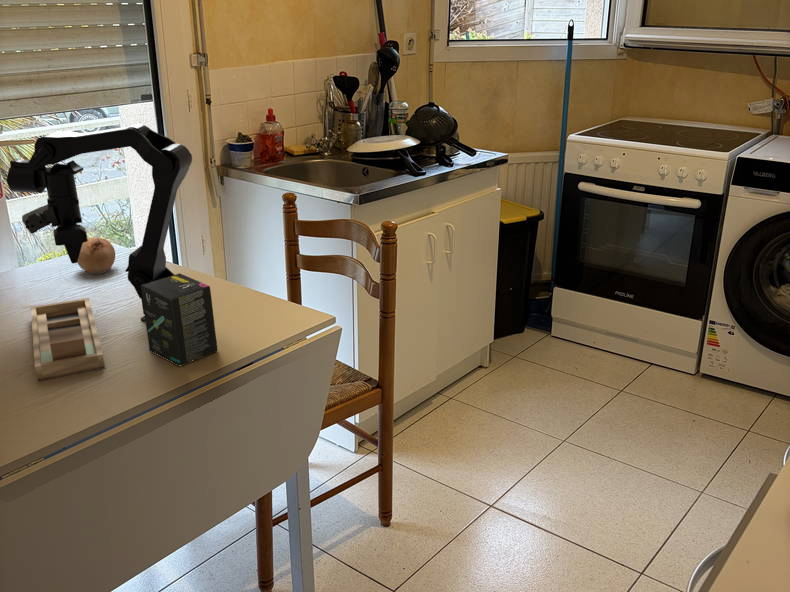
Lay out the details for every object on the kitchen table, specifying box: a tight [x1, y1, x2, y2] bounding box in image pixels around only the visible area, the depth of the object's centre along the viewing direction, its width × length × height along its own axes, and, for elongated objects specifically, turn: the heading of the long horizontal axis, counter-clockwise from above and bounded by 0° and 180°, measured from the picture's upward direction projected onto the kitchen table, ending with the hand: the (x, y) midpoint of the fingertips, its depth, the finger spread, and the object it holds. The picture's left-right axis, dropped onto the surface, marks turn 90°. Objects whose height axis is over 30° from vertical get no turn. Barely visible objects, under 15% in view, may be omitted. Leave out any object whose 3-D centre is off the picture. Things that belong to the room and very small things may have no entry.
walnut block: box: [49, 326, 87, 361], centre depth 151 cm, size 6×6×4 cm
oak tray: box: [30, 297, 106, 381], centre depth 160 cm, size 30×12×3 cm, turn 25°
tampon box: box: [141, 273, 219, 366], centre depth 155 cm, size 11×9×15 cm
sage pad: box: [40, 343, 96, 363], centre depth 152 cm, size 8×10×1 cm
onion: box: [76, 236, 116, 274], centre depth 196 cm, size 10×9×10 cm
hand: (74, 262), depth 170 cm, fingers closed
